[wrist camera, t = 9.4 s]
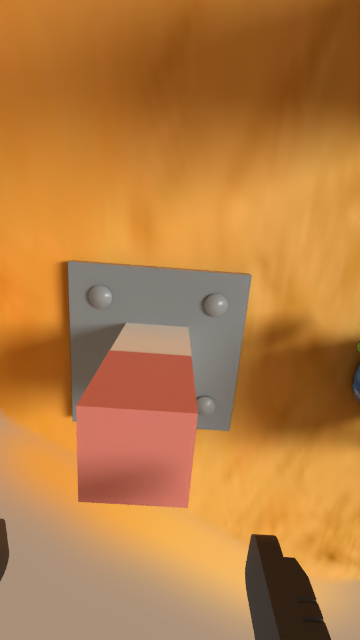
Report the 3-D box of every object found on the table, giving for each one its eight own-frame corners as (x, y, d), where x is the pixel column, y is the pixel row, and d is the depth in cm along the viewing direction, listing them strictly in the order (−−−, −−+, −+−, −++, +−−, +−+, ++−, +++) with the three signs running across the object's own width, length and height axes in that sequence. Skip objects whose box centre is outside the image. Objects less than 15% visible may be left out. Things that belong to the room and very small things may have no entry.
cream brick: (188, 327, 24) (191, 356, 18) (183, 382, 25) (185, 427, 19) (126, 322, 24) (109, 351, 18) (124, 378, 25) (108, 422, 19)
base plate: (248, 273, 24) (252, 275, 22) (227, 423, 27) (229, 433, 26) (72, 260, 23) (66, 261, 22) (76, 414, 27) (71, 423, 26)
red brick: (191, 356, 18) (197, 413, 12) (184, 426, 19) (187, 507, 14) (109, 350, 18) (76, 405, 12) (108, 421, 19) (78, 501, 13)
